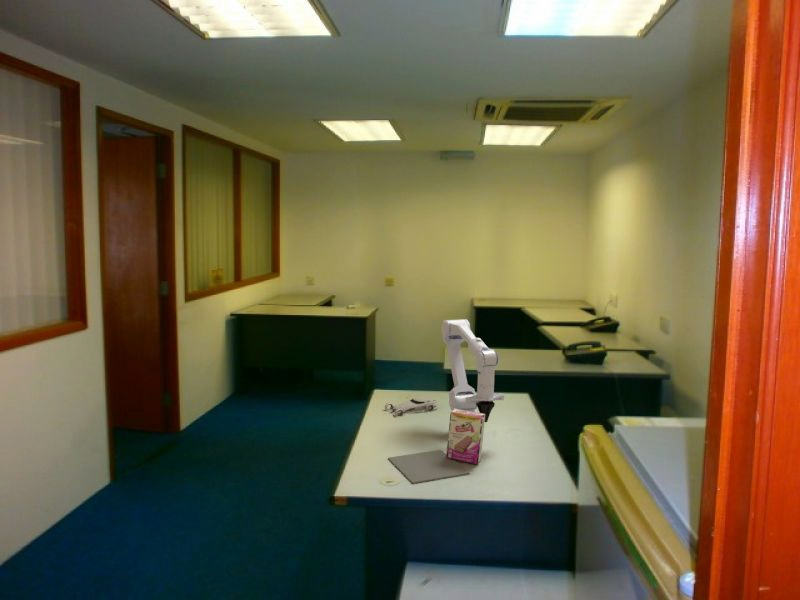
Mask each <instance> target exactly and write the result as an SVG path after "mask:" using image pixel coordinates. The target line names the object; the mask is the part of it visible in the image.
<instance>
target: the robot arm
mask: <svg viewBox="0 0 800 600" xmlns="http://www.w3.org/2000/svg"><path fill="white" fill-rule="evenodd" d="M440 331H441V337H442V341H443V343H445V344H446V348H447V353H448V359H449V365H450V370H451V374H452V380H453V384H454V385H453V388H452V389H451V390H450V391H449V393H448V396H449V397H448V398H449V399H448V400H449V401H448V403H449V408H450V409H451V411H452V410H453V409H460V410H465V411H471V412H476V413H482V414H485V423H488V421H489V418H490V414H491V412H492V410H493V409H494V407H495V406H496V405H495V403H496V402H495V401H505V394H504V393H495V391H494V390H495V371H496V370H495V366H497V365H499V353H498V351H496V349H492V348H489V347H488V346H487V345H486V344H485V342H484V341H483V340H482V339H481V338H480V337H476V335H475V334H474V333H473V331H472V330H471V323H470V322H469V320H468V319H466V318H462V319H444V320H443V321H442V323H441V327H440ZM464 342H466V344H467V349H468V350H469V352H470V353H471V354H472V355H473V356H474V360H475V364H476V365H475V366H476V371H477V385H476V386H477V388H476V389H475V388H473V387H472V385H471V386H470V385H469V384H468V379H467V373H466V370H465V364H464V358H463V354H462V349H461V344H462V343H464ZM475 390H477V391H475ZM476 409H477V410H476ZM478 411H479V412H478Z"/></svg>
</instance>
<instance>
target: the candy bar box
mask: <svg viewBox="0 0 800 600" xmlns="http://www.w3.org/2000/svg"><path fill="white" fill-rule="evenodd" d="M449 416H450V417H449V424H448V425H449V426H448V427H449V428H448V436H447V445H446V454H447V455H446V458H448V459H453V460H454V461H458V462H463V463H469V464H474V465H479V463H480V462H481V459H482V450H483V441H484V440H483V439H484V431H485V430H484V429H485V423H486V422H485V414H482V413H480V412H478V413H476V412H471V411H465V410H460V409H453V410H452V409H451V411H450V414H449Z"/></svg>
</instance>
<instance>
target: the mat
mask: <svg viewBox="0 0 800 600" xmlns="http://www.w3.org/2000/svg"><path fill="white" fill-rule="evenodd" d="M446 455H447V452H445V451H443V450H442V449H436V450H431V451H430V450H429V451H423V452H417V453H415V452H414V453H411V454H405V455H404V454H403V455H398V456H392V457H391V456H390V457H387V460H388V461H389V460H390V461H391V462H392V463H391V462H390V461H389V462H390V463H391V464H392V465H393V466H394V465H395V466H394V467H395V468H396V469H397V470H398V471H399V472H400V473H401V474H402V475H403V476H404V477H405V478H406V479H407V480H408V481H409V483H410V484H412V485H416V484H421V483H427V482H433V481H439V480H443V479H450V478H454V477H456V478H457V477H461V476H466V475H470V473H471V472H470V471H468V470H467V469H466V468H465V467H463V466H462V465H461V464H460V463H458V462H457V460H453V459H448V458H446Z"/></svg>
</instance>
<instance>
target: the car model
mask: <svg viewBox="0 0 800 600" xmlns="http://www.w3.org/2000/svg"><path fill="white" fill-rule="evenodd" d="M436 403H439V399H437V398H435V397H428V396H417V397H413V398H411V399H409V400H406V401H403V402H399V403H397V404H396V405H393V403H392V402H386V403H385V404H384V409H385V412H386V413H387V412H389V413H388V414H392V415H394V416H393V417H396V416H400V417H404V416H406V415H405V414H408V415H412V413H413V414H418V413H430V412H434V411H436V410H438V406H437V405H435V404H436ZM388 406H390V408H388ZM392 415H391V416H392ZM403 415H404V416H403Z"/></svg>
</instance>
